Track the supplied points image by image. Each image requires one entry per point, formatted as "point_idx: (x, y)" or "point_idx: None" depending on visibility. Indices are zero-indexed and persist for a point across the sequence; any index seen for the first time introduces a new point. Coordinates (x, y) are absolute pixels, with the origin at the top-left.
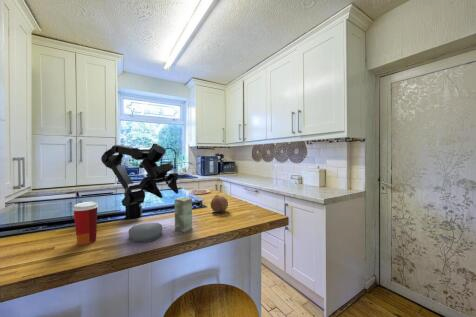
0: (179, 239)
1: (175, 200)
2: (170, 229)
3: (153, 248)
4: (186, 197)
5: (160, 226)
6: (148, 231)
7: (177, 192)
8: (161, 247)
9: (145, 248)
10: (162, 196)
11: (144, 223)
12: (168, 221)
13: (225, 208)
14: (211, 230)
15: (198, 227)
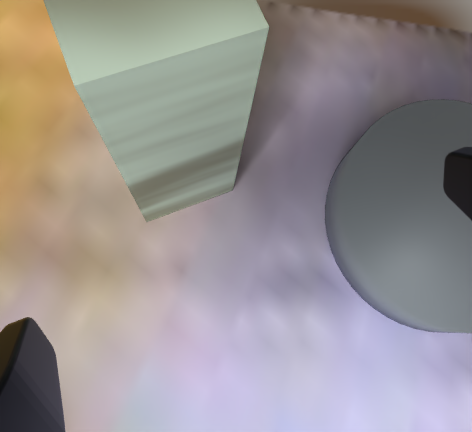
0: (271, 41)
1: (259, 23)
2: (256, 218)
3: (421, 35)
4: (54, 11)
5: (359, 167)
6: (454, 131)
7: (34, 330)
8: (384, 20)
9: (456, 60)
10: (453, 152)
11: (457, 322)
12: (198, 414)
13: None
14: (40, 23)
15: (74, 120)
